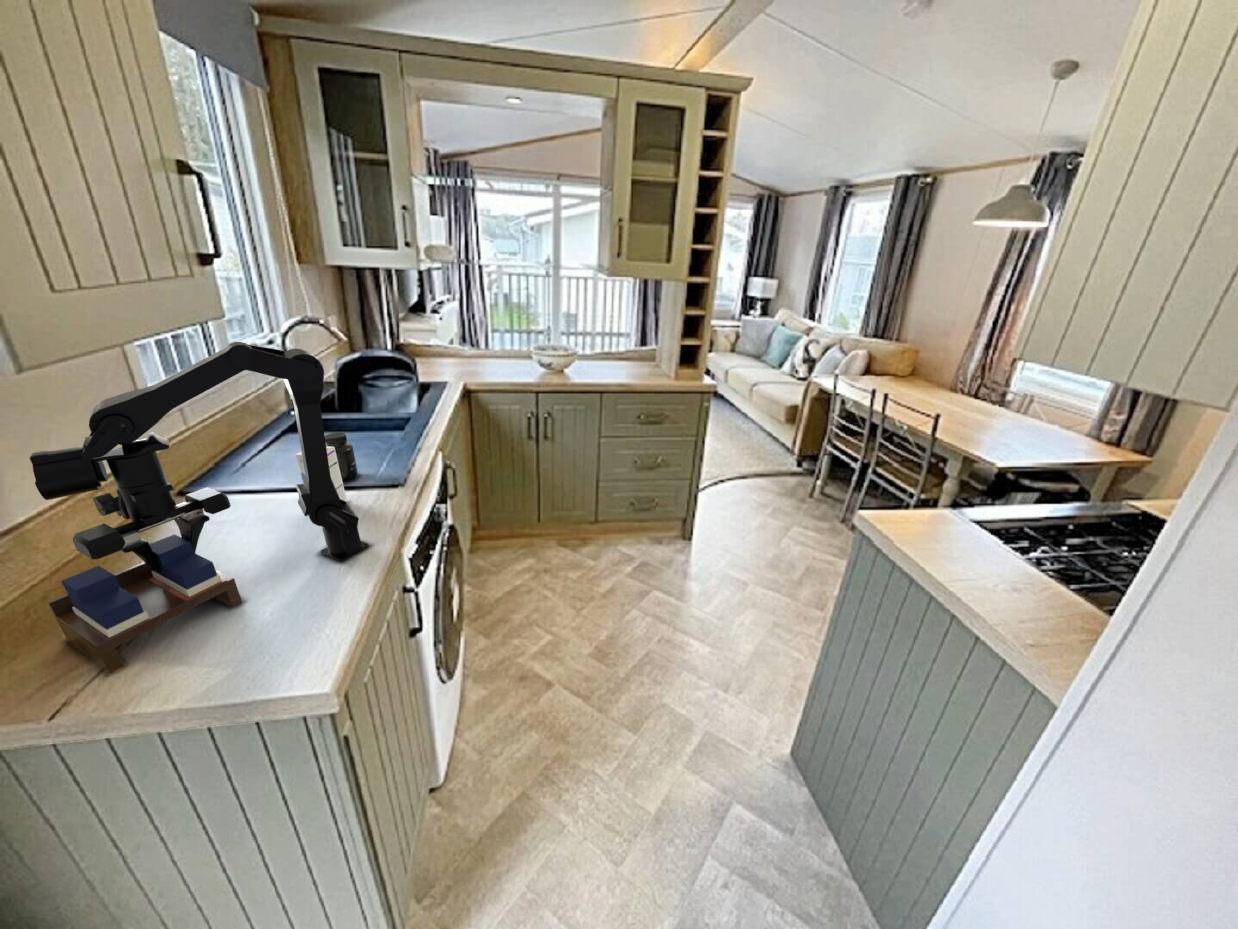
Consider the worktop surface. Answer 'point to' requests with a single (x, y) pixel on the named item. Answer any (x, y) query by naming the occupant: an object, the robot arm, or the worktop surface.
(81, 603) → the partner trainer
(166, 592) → the shoe rack
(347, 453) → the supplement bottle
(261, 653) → the worktop surface
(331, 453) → the syrup box
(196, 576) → the trainer
